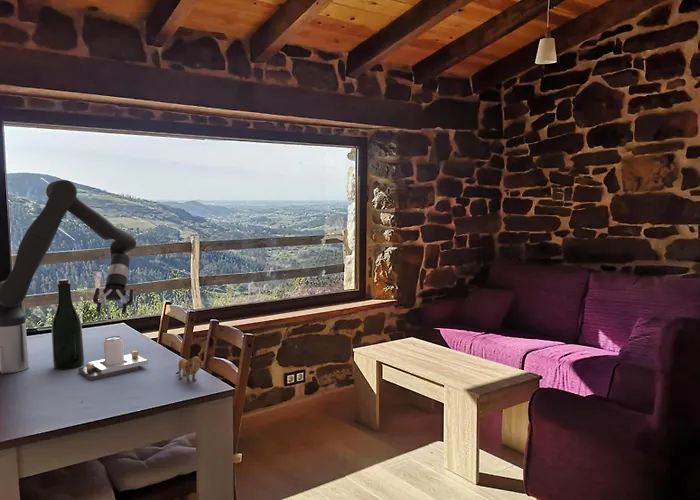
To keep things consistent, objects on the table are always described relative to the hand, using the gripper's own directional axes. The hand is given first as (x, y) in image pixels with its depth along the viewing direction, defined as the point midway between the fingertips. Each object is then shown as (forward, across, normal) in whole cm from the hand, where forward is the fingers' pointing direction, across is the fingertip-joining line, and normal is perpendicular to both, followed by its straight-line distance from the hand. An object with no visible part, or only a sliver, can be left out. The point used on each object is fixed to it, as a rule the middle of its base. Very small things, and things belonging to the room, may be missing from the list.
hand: (111, 313), depth 210 cm
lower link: (+23, +2, +2) cm, 23 cm away
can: (+22, +4, +3) cm, 23 cm away
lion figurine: (+32, +31, -13) cm, 47 cm away
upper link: (+20, +5, +3) cm, 21 cm away
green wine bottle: (+17, -14, +12) cm, 25 cm away
